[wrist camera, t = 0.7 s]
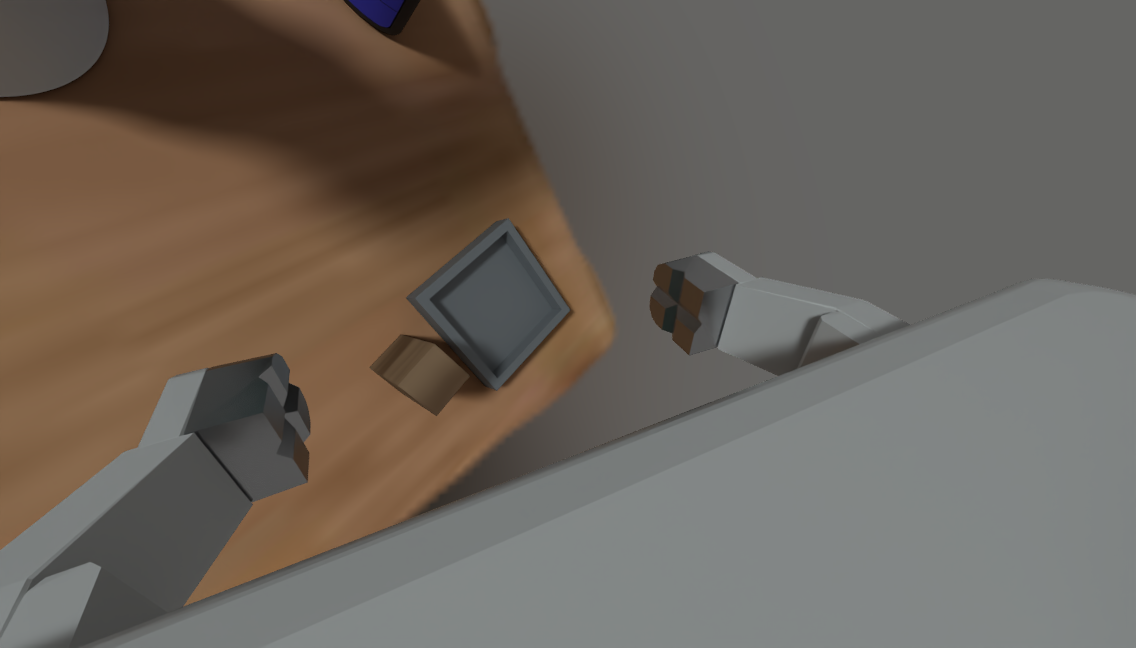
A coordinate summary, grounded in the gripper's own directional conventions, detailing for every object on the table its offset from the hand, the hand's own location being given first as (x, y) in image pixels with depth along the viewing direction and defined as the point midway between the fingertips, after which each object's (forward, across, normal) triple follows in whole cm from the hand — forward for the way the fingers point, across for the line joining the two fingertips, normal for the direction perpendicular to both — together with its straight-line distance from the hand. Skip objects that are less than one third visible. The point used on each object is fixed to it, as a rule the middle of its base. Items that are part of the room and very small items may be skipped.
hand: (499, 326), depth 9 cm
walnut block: (+30, +4, +24) cm, 39 cm away
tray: (+34, -7, +22) cm, 42 cm away
